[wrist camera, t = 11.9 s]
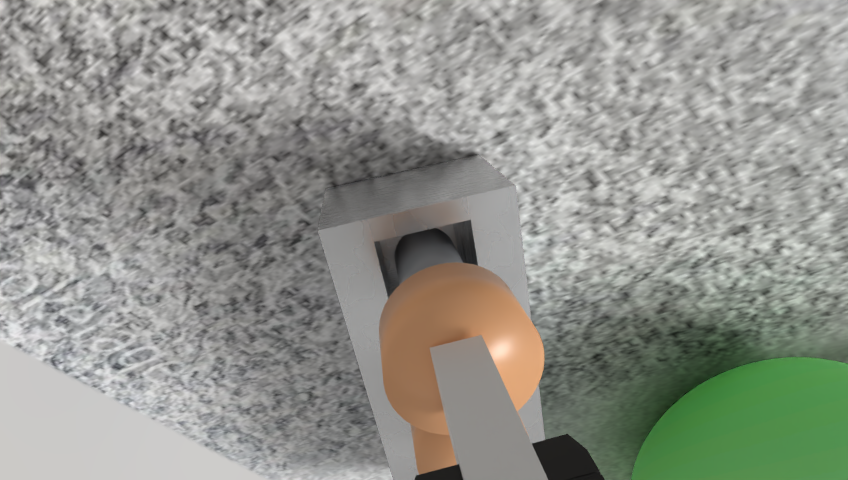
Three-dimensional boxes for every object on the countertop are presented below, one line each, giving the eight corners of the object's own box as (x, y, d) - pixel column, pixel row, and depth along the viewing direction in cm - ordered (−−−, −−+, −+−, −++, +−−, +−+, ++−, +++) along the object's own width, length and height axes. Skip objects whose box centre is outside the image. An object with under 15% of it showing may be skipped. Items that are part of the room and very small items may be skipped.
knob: (360, 218, 20) (365, 322, 13) (468, 194, 21) (536, 281, 13) (385, 312, 22) (402, 451, 15) (483, 288, 22) (551, 413, 15)
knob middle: (390, 315, 26) (405, 426, 18) (473, 295, 26) (523, 396, 19) (407, 382, 28) (428, 509, 20) (485, 363, 28) (534, 481, 21)
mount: (325, 188, 24) (317, 230, 18) (478, 154, 24) (515, 185, 19) (405, 468, 32) (416, 557, 26) (520, 439, 32) (554, 519, 27)
